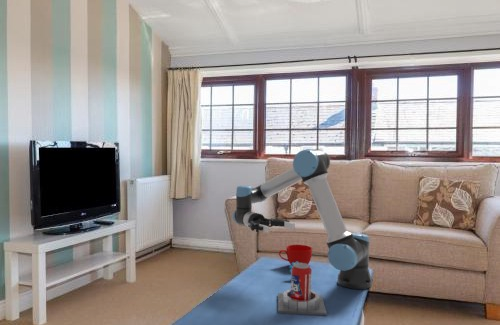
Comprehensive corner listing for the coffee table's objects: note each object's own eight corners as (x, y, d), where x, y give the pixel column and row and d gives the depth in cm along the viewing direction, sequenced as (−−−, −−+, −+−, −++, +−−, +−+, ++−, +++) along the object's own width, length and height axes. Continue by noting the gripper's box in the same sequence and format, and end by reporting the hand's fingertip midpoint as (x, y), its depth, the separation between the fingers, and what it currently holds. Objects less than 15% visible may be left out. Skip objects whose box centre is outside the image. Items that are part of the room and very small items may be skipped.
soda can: (313, 306, 161) (314, 267, 160) (293, 307, 160) (294, 268, 159) (306, 298, 169) (308, 261, 168) (288, 299, 168) (289, 262, 167)
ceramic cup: (276, 263, 220) (277, 244, 220) (308, 263, 222) (308, 244, 221) (281, 271, 207) (281, 251, 207) (314, 270, 209) (315, 251, 209)
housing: (321, 297, 173) (321, 288, 173) (326, 315, 155) (327, 305, 155) (277, 295, 174) (278, 286, 174) (278, 313, 156) (278, 302, 156)
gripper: (276, 226, 204) (303, 233, 186) (231, 231, 191) (257, 240, 173) (276, 210, 204) (304, 217, 186) (231, 215, 191) (257, 222, 173)
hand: (281, 228), depth 180 cm, fingers open, 13 cm apart
